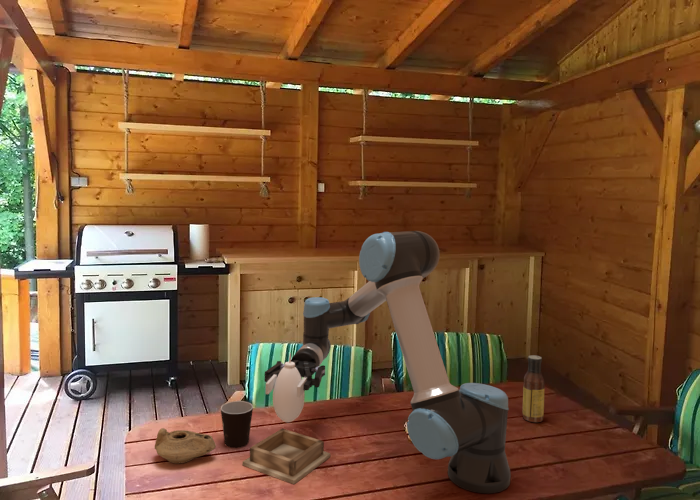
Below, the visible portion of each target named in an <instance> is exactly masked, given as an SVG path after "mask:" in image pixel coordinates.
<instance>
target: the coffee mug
mask: <svg viewBox="0 0 700 500" xmlns="http://www.w3.org/2000/svg"><path fill="white" fill-rule="evenodd" d="M253 409H254V406H253V404H252V403H251V402H249V401H243V400H236V401H235V400H234V401H229V402H226V403H223V404H222V405H221V406H220V414H221V415H220V416H221V424H222V430H223V440H224V444H225V446H226V447H228V448H232V449H233V448H234V449H239V448H243V447H246V446H247V445H248V444H249V441H250V433H251V426H252V425H251V424H252V418H253V411H254V410H253Z"/></svg>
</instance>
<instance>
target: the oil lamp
mask: <svg viewBox="0 0 700 500" xmlns="http://www.w3.org/2000/svg"><path fill="white" fill-rule="evenodd" d="M216 446H217V445H216V442H215V440H214V438H213V436H212V435H210V434H207V433H206V434H205V433H199V432H195V431H191V430H185V429H181V430H179V429H177V430H173V431H170V432H169V431H168V430H167V429H166V428H164V427H162V428H160V429H159V430H158V432H157V435H156V439H155V444H154V449H155V451H156V454H157V455H158V456H160V457H162V458H163V459H165V460H167V462H170V463H173V464H184V463H188V462H191V461H192V460H193V459H195V458H200V457H202V456H204V455H207V454H209V453H211V452H212V451H214V449H216Z"/></svg>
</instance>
